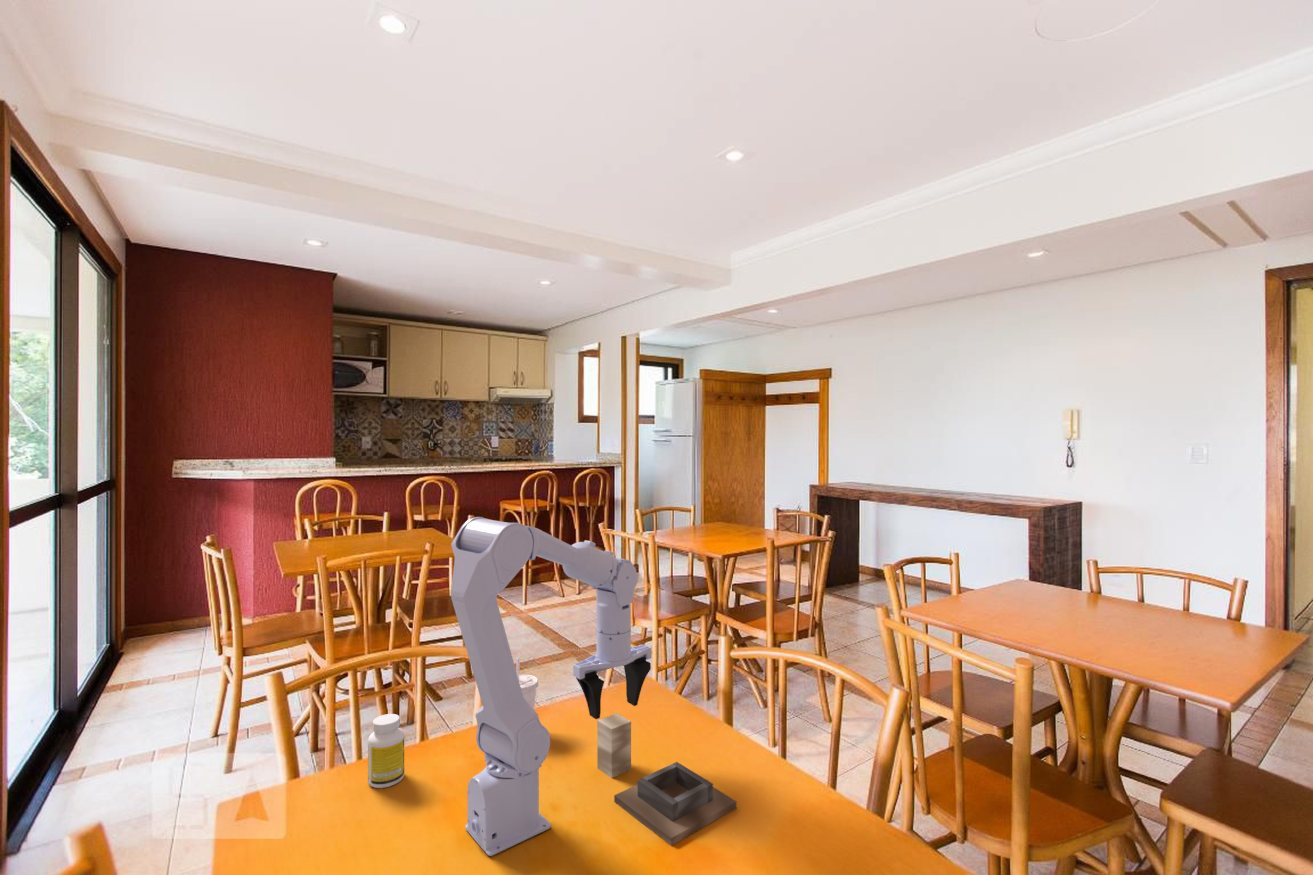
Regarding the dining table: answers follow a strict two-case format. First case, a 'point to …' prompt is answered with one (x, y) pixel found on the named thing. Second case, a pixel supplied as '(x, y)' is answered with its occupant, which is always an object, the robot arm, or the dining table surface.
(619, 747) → the square peg
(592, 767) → the dining table surface
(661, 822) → the socket block
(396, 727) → the supplement bottle
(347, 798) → the dining table surface
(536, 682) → the smoothie
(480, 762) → the dining table surface
